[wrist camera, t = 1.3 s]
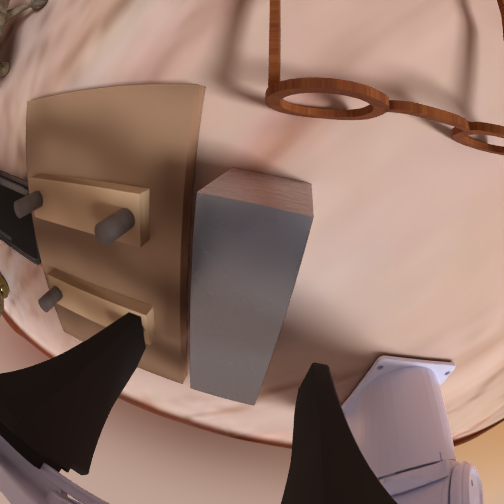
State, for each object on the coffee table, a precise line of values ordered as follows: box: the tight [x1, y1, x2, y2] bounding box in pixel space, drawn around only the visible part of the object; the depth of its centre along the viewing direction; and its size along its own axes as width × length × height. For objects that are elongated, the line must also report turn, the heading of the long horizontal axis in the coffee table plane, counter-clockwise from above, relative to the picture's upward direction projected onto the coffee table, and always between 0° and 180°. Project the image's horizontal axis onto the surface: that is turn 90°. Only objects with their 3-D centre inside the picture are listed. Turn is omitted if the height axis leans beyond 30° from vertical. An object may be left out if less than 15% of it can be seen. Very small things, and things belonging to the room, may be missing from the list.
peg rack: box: [14, 84, 205, 384], centre depth 16 cm, size 22×14×4 cm, turn 171°
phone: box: [0, 170, 41, 265], centre depth 18 cm, size 8×1×15 cm
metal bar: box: [190, 168, 314, 405], centre depth 14 cm, size 12×4×5 cm, turn 171°
